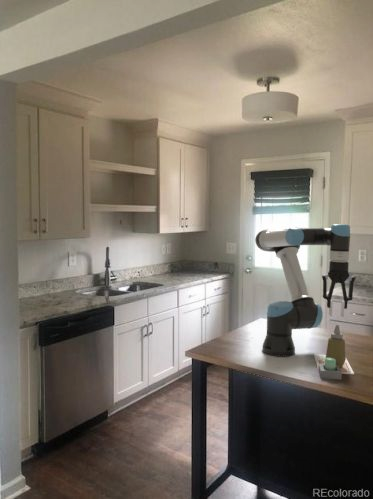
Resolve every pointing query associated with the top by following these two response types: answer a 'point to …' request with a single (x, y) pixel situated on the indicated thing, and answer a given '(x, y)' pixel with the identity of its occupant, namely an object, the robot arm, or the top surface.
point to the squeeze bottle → (336, 347)
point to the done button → (330, 364)
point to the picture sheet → (345, 369)
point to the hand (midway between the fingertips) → (336, 315)
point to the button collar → (330, 372)
